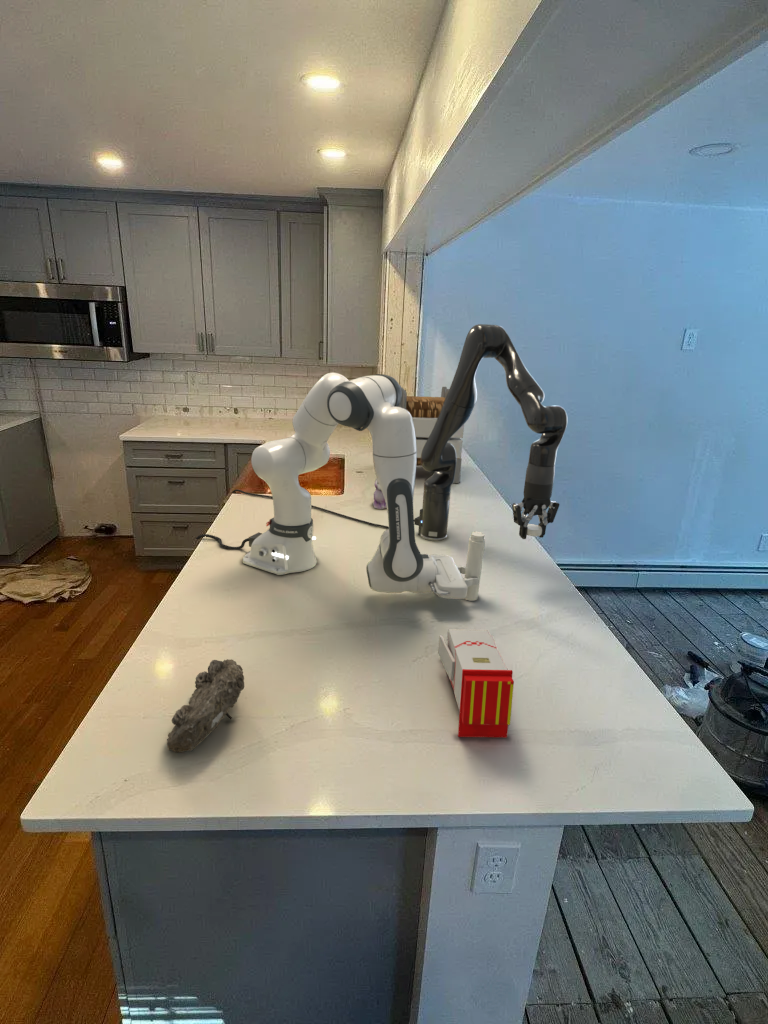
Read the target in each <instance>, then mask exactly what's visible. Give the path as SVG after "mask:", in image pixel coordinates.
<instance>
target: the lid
mask: <svg viewBox="0 0 768 1024" xmlns="http://www.w3.org/2000/svg"><path fill="white" fill-rule="evenodd" d="M527 527H528V529H527V536H529V537H539V536H540V535H541V534H542V527H541V526H539V525H538V524H534V523H528V525H527Z"/></svg>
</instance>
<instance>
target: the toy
mask: <svg viewBox="0 0 768 1024" xmlns="http://www.w3.org/2000/svg"><path fill="white" fill-rule="evenodd" d="M446 640H447V643H446V641H445V639H444V636H443V635H442V634H439V637H438V646H437V656H438V657H439V659H440V661H441V663H442V666H443V668H444V670H445V672H446V674H447V677H448V679H449V681H450V684H451V687H452V690H453V693H454V697H455V701H456V705H457V708H458V711H459V714H458V715H459V716H458V730H457V731H458V732H457V737H458V738H508V731H509V726H510V725H511V717H512V707H513V697H514V696H513V695H514V684H515V680H514V679H513V673H514V671H513V670H512V669H508V667H507V665H506V662H505V661H504V659H503V658H502V655H501V653H500V651H499V649H498V647H497V643H496V639H495V637H494V635H493V634H491V632H490V631H489V629H467V628H466V629H465V628H463V629H461V628H460V629H459V628H448V630H447V639H446Z"/></svg>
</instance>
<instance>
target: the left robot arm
mask: <svg viewBox="0 0 768 1024" xmlns="http://www.w3.org/2000/svg"><path fill="white" fill-rule="evenodd" d="M399 385H400V384H399V382H398V381H397V380H396V379H395V378H394V377H392V376H391V375H388V374H382V373H375V374H371V375H363V376H360V377H357V378H353V379H350V380H349V379H348V378H347V377H346V376H345V375H343V374H341V373H338V372H328V373H326V374H324V375H323V376H322V377H320V378H319V379H318V380H317V381H316V383H314V385H313V386H312V387H311V388H310V390H309V392H307V394H306V396H305V397H304V399H303V400H302V402H301V403H300V405H299V407H298V409H297V410H296V412H295V413H294V415H293V418H292V427H293V431H294V433H293V434H292V435H291V436H289V437H285V438H280V439H274V440H270V441H267V442H264V443H263V444H260V445H259V446H257V447H256V448H254V450H253V452H252V454H251V460H250V461H251V467H252V470H253V472H254V473H255V475H256V476H257V477H258V478H259V479H261V480H262V481H264V482H265V484H267V486H268V487H269V489H270V493H271V496H273V498H272V503H273V517H271V518H270V519H269V521H267V522H266V523H265V524H266V525H265V526H266V527H269V528H268V529H267V530H265V531H263V532H256V533H255V534H252V535H250V536H248V538H245V539H243V540H242V542H241V545H238V546H230V545H227V544H224V543H223V539H222V538H220V537H219V536H216V535H213V534H207V533H202V534H200V535H198V536H196V537H195V540H200V539H201V538H209V539H213V540H216V541H218V545H219V546H220V547H221V548H223V549H227V550H231V551H232V550H241V549H243V548H244V547H245V544H246V543H247V542H248V547H250V550H249V551H248V552H247V553H246V554H244V556H243V558H242V564H245V565H247V566H249V567H254V568H256V569H259V570H262V571H264V572H268V573H271V574H274V575H277V576H282V575H287V574H292V573H300V572H306V571H309V570H311V569H313V568H314V567H315V566H316V565H317V563H318V560H317V557H316V554H315V550H314V549H315V548H314V543H313V540H314V541H315V540H316V539H317V537H316V536H314V520H313V519H314V518H312V507H311V505H312V495H311V493H310V492H309V491H308V490H307V489H306V488H304V487H302V486H301V485H300V482H299V476H300V475H303V474H307V473H310V472H314V471H316V470H318V469H320V468H321V467H323V466H325V465H327V464H328V462H329V460H330V456H331V448H330V446H329V443H328V441H329V438H330V437H331V436H332V434H333V433H334V431H335V430H336V429H337V427H338V425H341V426H344V427H348V428H351V429H354V430H356V431H358V432H364V431H365V430H366V429H367V430H368V431H369V433H370V435H371V445H372V447H371V448H372V449H371V450H372V461H373V468H374V472H375V473H374V474H375V477H376V479H377V480H378V483H379V485H380V488H381V490H382V493H383V496H384V499H385V502H386V505H387V508H386V511H387V520H388V521H387V523H388V527H389V528H388V529H387V528H386V530H384V531H383V532H382V533H381V536H380V539H379V542H378V546H377V548H376V550H375V552H374V554H373V556H372V558H371V559H370V561H369V562H368V563H367V564H366V575H367V576H366V577H367V582H368V587H369V588H370V589H371V590H372V591H373V592H376V593H383V594H402V593H405V592H407V593H408V592H409V593H413V594H429V593H430V594H435V595H437V596H438V597H439V598H441V599H447V600H448V599H451V600H465V599H464V598H466V597H467V587H469V586H471V585H478V584H479V579H478V577H471V578H469V579H467V578H465V577H463V575H465V569H466V566H463V565H460V564H459V565H457V564H456V562H455V559H454V558H453V556H451V555H448V554H428V553H425V552H424V553H421V552H420V550H419V546H418V544H417V542H416V534H415V525H414V523H415V522H414V520H415V516H414V494H415V484H416V474H417V466H416V464H417V447H416V436H415V429H414V424H413V419H412V416H411V414H410V413H409V412H408V411H407V410H406V409H404V408H401V407H398V406H399V404H400V402H401V397H402V393H401V388H400V386H401V385H400V386H399ZM205 536H206V537H205ZM462 574H463V575H462ZM479 585H480V584H479Z"/></svg>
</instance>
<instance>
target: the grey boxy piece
mask: <svg viewBox="0 0 768 1024" xmlns="http://www.w3.org/2000/svg"><path fill="white" fill-rule="evenodd" d="M399 386H400V388H401V393H402V397H401V402H400V404H399V406H398V407H401V408H404V409H406V410H407V411H408V412H409V413H410V414H411V416H412V419H413V424H414V429H415V436H416V447H417V464H416V467H417V466H418V467H422V465H421V453H422V450H423V447H424V445H425V443H426V441H427V440H428V438H429V436H430V434H431V432H432V430H433V428H434V426H435V423H436V421H437V419H438V416H439V414H440V412H441V409H442V406H443V403H444V401H445V398H446V396H447V393H448V391H449V389H450V388H447V386H442V387H441V392H440V393H441V394H440V396H415V395H414V396H413V395H412V396H411V395H407V394H408V393H407V390H406V389H404V388H403V387H402V385H400V384H399ZM464 429H465V424H464V425H463V426H462V427H461V428H460V429H459V430H458V431H457V432H456V433H455V434H454V435H453V436H452V437H451V438H450V439H449V440H448V442H447V443H450V444H452V445H453V446H454V448H455V450H456V456H457V460H456V468H455V475H454V481H453V484H455V483H456V484H459V483H461V472H462V461H463V460H462V453H463V442H464V441H463V440H462V439H463V438H464V431H465V430H464Z"/></svg>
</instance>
